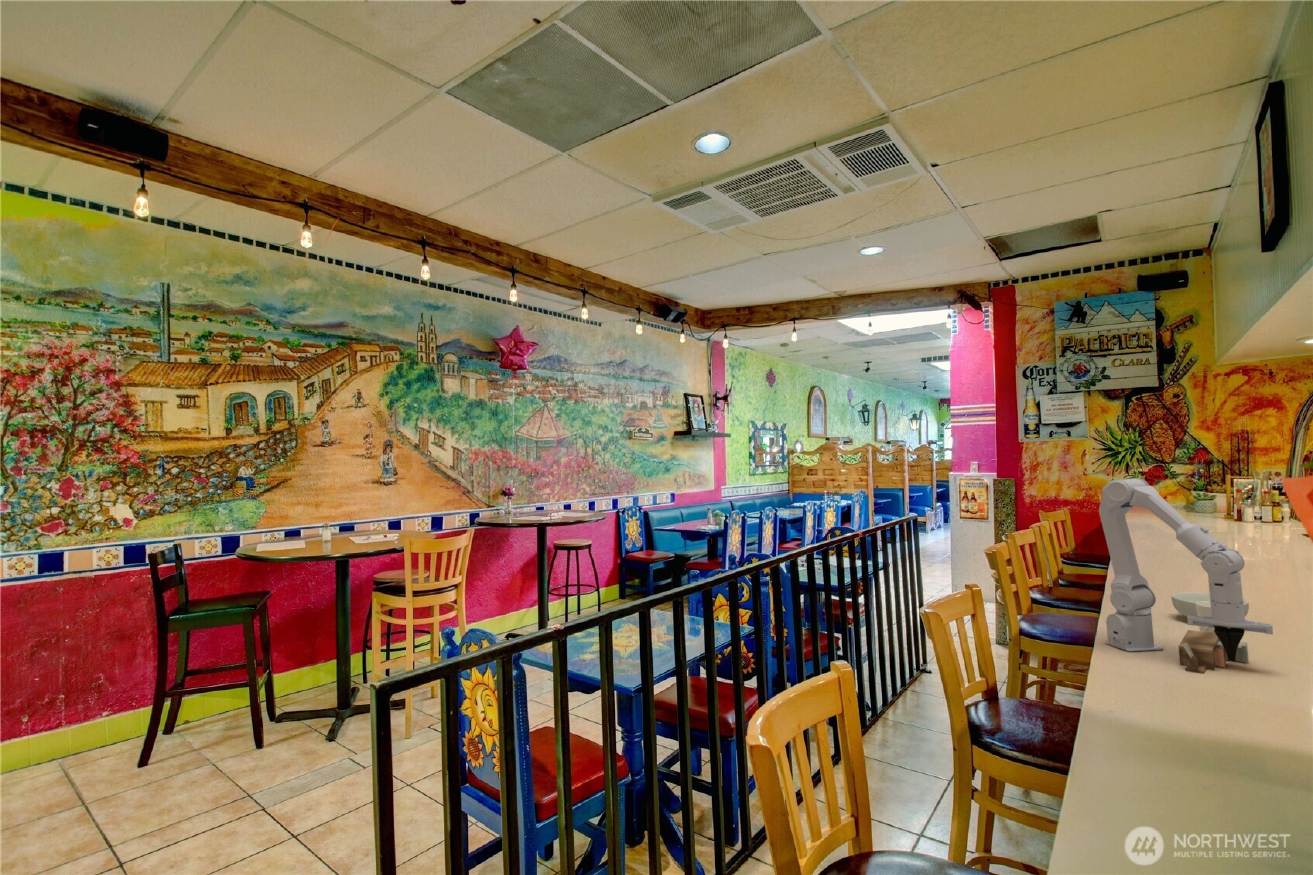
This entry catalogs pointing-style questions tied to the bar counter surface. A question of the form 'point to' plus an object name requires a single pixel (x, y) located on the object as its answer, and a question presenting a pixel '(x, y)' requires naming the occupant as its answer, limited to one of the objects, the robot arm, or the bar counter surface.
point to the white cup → (1204, 614)
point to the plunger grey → (1239, 652)
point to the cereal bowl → (1194, 602)
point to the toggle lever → (1189, 651)
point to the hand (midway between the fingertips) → (1232, 660)
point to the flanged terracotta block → (1220, 656)
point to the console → (1198, 651)
